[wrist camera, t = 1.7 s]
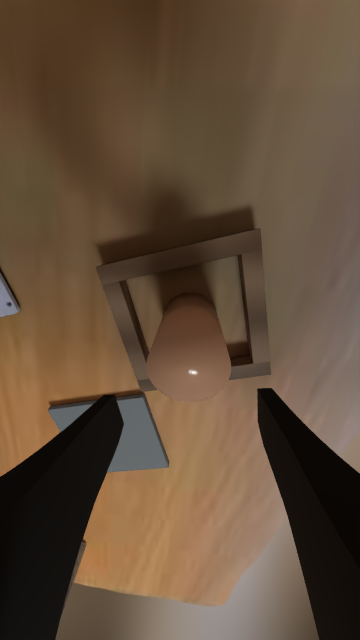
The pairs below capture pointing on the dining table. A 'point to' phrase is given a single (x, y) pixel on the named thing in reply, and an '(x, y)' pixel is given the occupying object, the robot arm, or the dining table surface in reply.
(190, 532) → the dining table surface
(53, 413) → the rubber mat
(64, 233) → the dining table surface
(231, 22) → the dining table surface
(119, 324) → the frame
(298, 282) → the dining table surface
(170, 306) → the terracotta cylinder
